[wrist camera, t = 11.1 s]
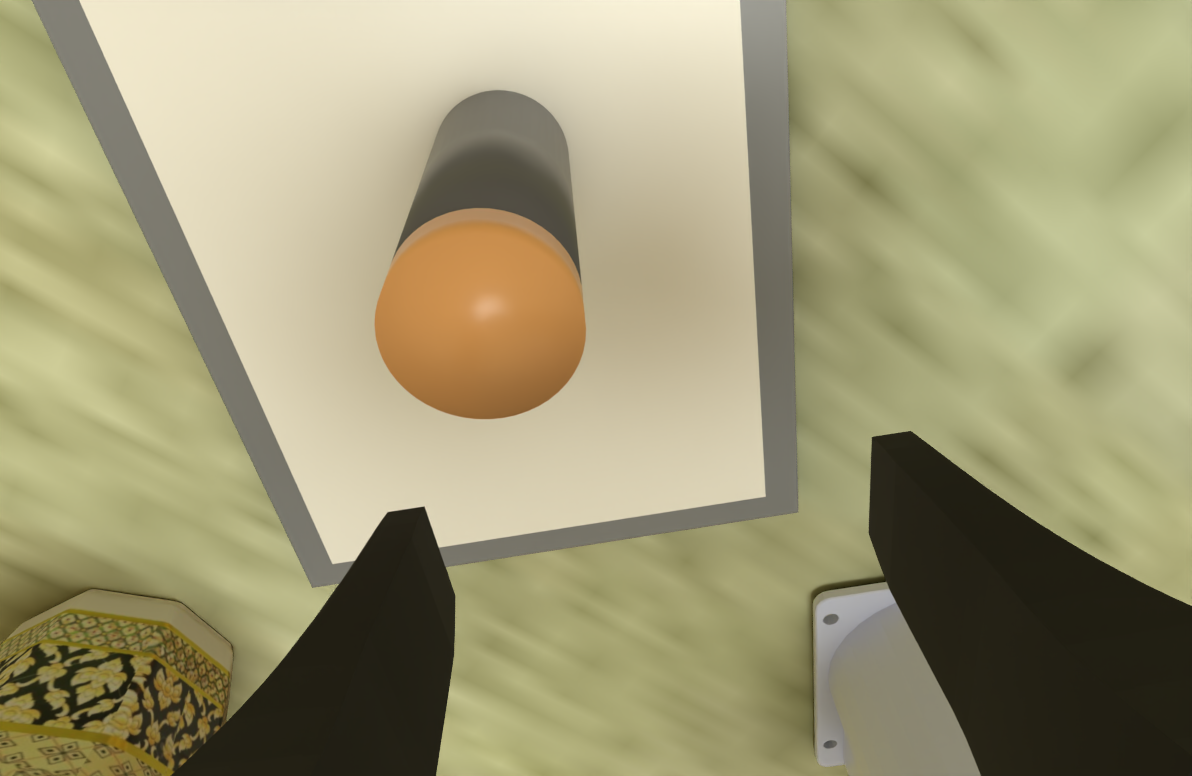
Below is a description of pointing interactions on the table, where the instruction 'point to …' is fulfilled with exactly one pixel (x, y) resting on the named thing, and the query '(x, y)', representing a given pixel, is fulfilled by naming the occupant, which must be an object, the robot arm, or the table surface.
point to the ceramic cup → (110, 688)
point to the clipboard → (376, 220)
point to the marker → (487, 266)
